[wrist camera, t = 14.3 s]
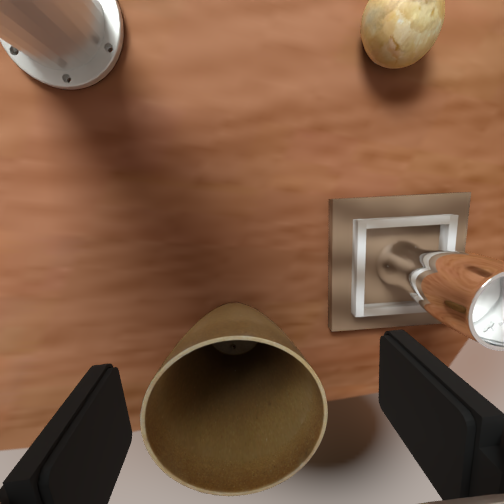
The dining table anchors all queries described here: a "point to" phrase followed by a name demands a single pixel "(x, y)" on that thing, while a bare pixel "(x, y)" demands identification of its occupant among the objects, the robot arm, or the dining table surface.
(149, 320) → the dining table surface
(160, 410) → the plant pot
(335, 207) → the holder board
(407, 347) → the robot arm
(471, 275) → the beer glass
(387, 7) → the onion
